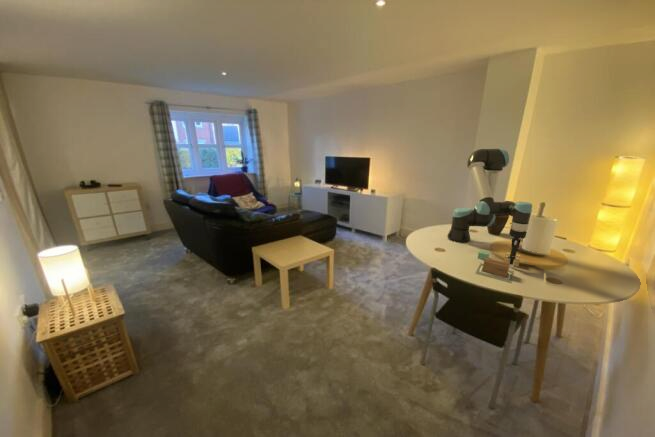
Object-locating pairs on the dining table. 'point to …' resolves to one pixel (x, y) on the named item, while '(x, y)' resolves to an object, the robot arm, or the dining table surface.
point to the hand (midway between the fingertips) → (511, 264)
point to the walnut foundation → (496, 267)
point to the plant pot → (498, 224)
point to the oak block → (517, 259)
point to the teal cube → (483, 254)
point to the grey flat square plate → (508, 279)
